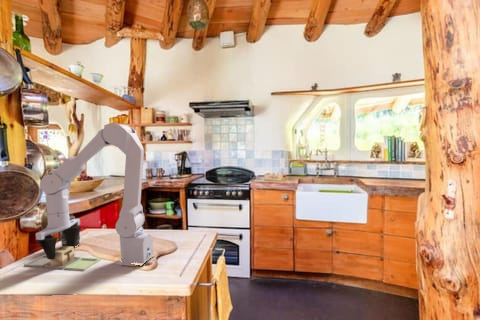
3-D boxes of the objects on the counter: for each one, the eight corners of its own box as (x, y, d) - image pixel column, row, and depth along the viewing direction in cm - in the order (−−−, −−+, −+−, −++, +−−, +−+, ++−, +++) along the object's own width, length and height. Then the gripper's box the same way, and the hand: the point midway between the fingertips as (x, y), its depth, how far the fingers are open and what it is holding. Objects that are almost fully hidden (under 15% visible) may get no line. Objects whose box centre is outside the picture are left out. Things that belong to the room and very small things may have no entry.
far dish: (61, 258, 91) (61, 256, 91) (42, 268, 84) (42, 265, 84) (44, 257, 93) (43, 254, 92) (24, 267, 86) (23, 264, 86)
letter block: (75, 260, 89) (73, 246, 88) (63, 266, 84) (62, 252, 84) (62, 259, 90) (61, 245, 89) (50, 265, 85) (49, 251, 85)
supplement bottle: (84, 244, 103) (82, 215, 103) (73, 250, 98) (70, 219, 97) (69, 244, 104) (67, 215, 103) (58, 250, 98) (55, 219, 97)
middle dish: (80, 259, 90) (80, 257, 90) (63, 270, 83) (63, 267, 83) (62, 258, 91) (62, 256, 91) (44, 268, 84) (43, 265, 84)
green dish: (100, 261, 88) (100, 258, 88) (84, 271, 81) (84, 268, 81) (82, 259, 90) (81, 257, 89) (64, 270, 83) (64, 267, 83)
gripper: (66, 205, 93) (69, 243, 95) (25, 218, 79) (29, 263, 80) (84, 206, 92) (87, 245, 93) (45, 219, 78) (49, 264, 79)
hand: (61, 253), depth 87 cm, fingers open, 7 cm apart
